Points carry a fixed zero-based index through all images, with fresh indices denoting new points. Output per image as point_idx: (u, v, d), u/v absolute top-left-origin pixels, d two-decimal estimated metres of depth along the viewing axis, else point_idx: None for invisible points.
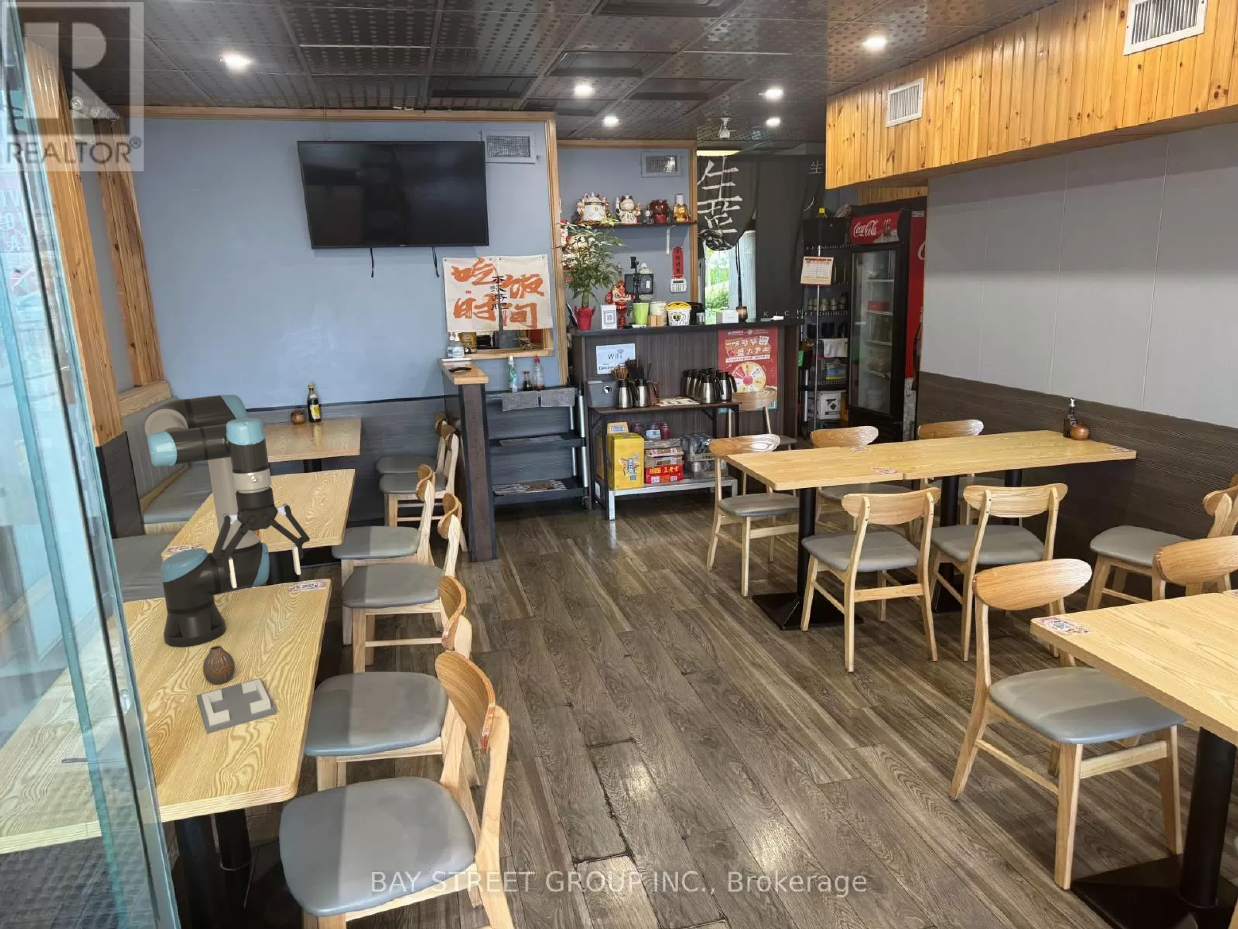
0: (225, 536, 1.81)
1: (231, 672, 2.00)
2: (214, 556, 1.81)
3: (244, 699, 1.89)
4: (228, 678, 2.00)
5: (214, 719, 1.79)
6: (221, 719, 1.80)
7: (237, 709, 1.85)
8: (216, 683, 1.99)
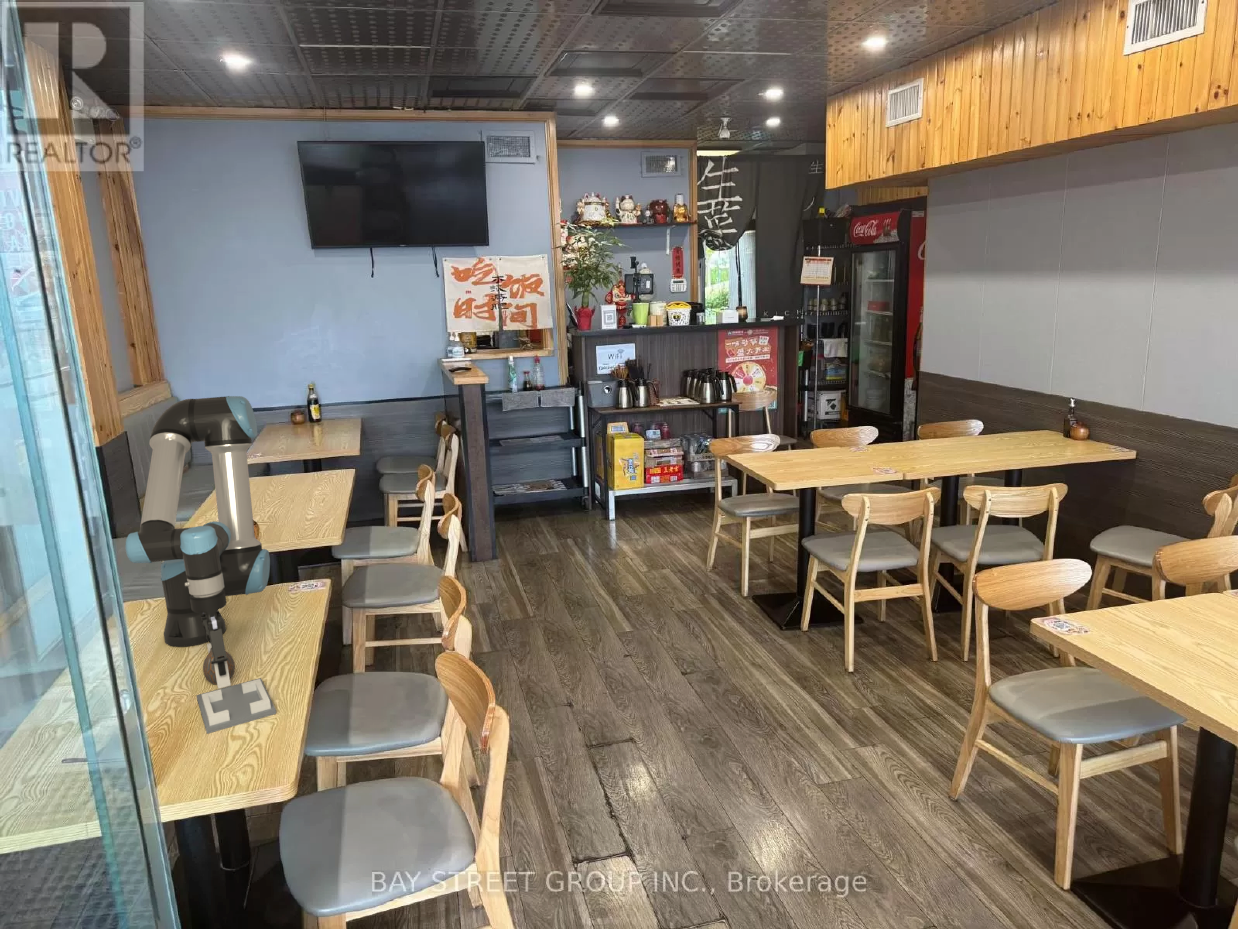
0: None
1: (231, 672, 2.00)
2: (205, 634, 2.06)
3: (244, 699, 1.89)
4: None
5: (214, 719, 1.79)
6: (221, 719, 1.80)
7: (237, 709, 1.85)
8: (216, 683, 1.99)
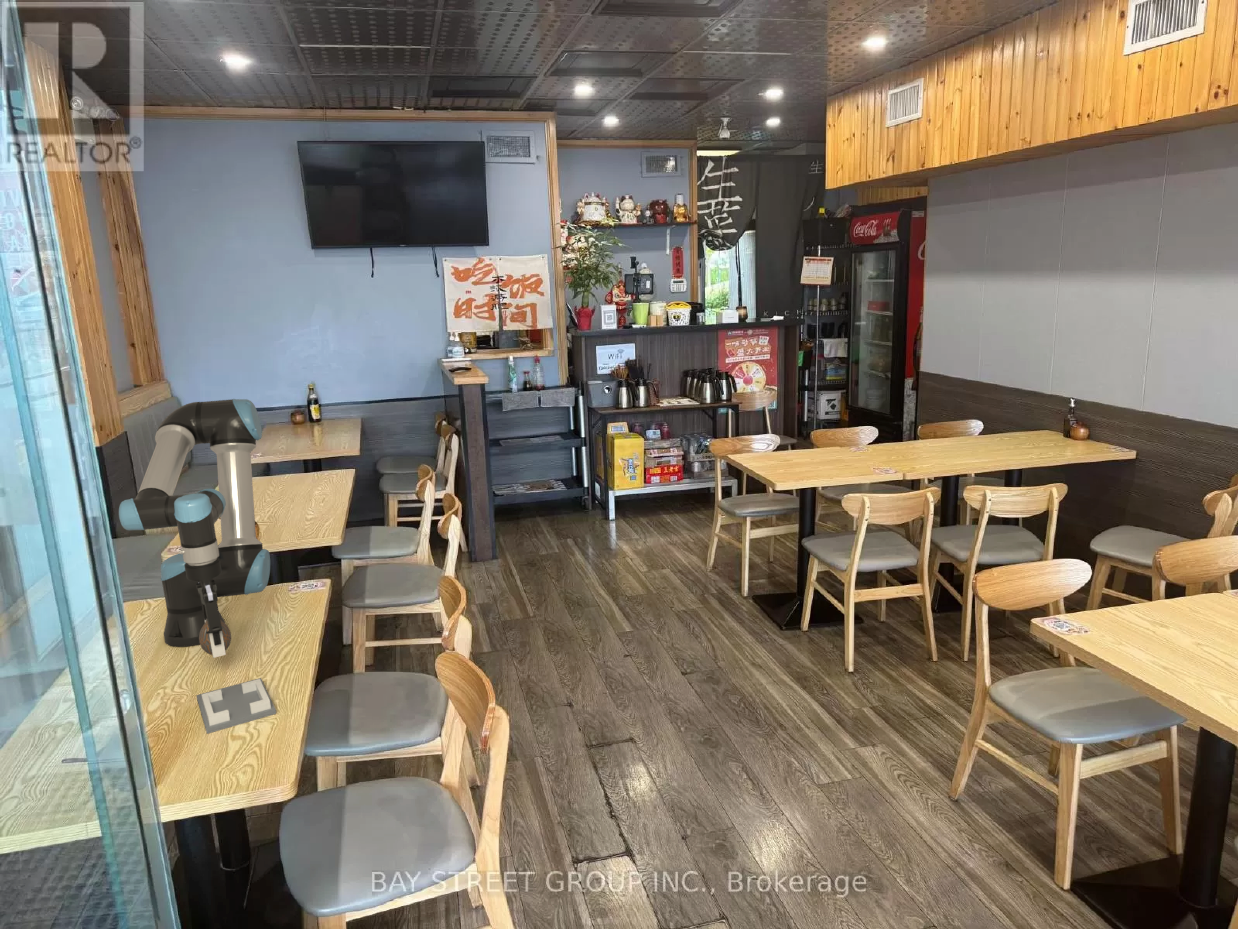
0: None
1: (228, 642, 1.99)
2: None
3: (244, 699, 1.89)
4: None
5: (214, 719, 1.79)
6: (221, 719, 1.80)
7: (237, 709, 1.85)
8: None
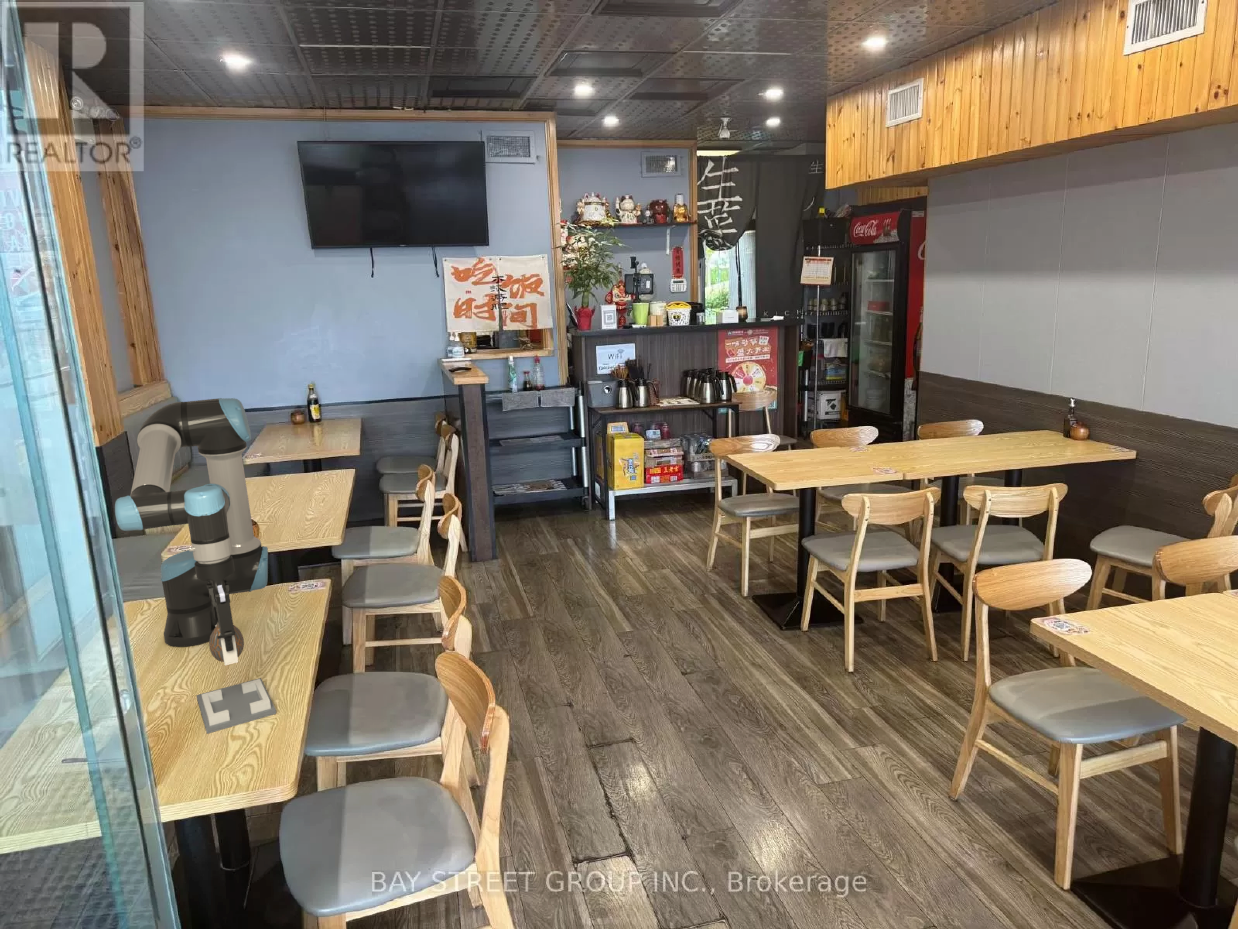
0: None
1: (240, 648, 1.83)
2: None
3: (244, 699, 1.89)
4: (237, 655, 1.83)
5: (214, 719, 1.79)
6: (221, 719, 1.80)
7: (237, 709, 1.85)
8: None
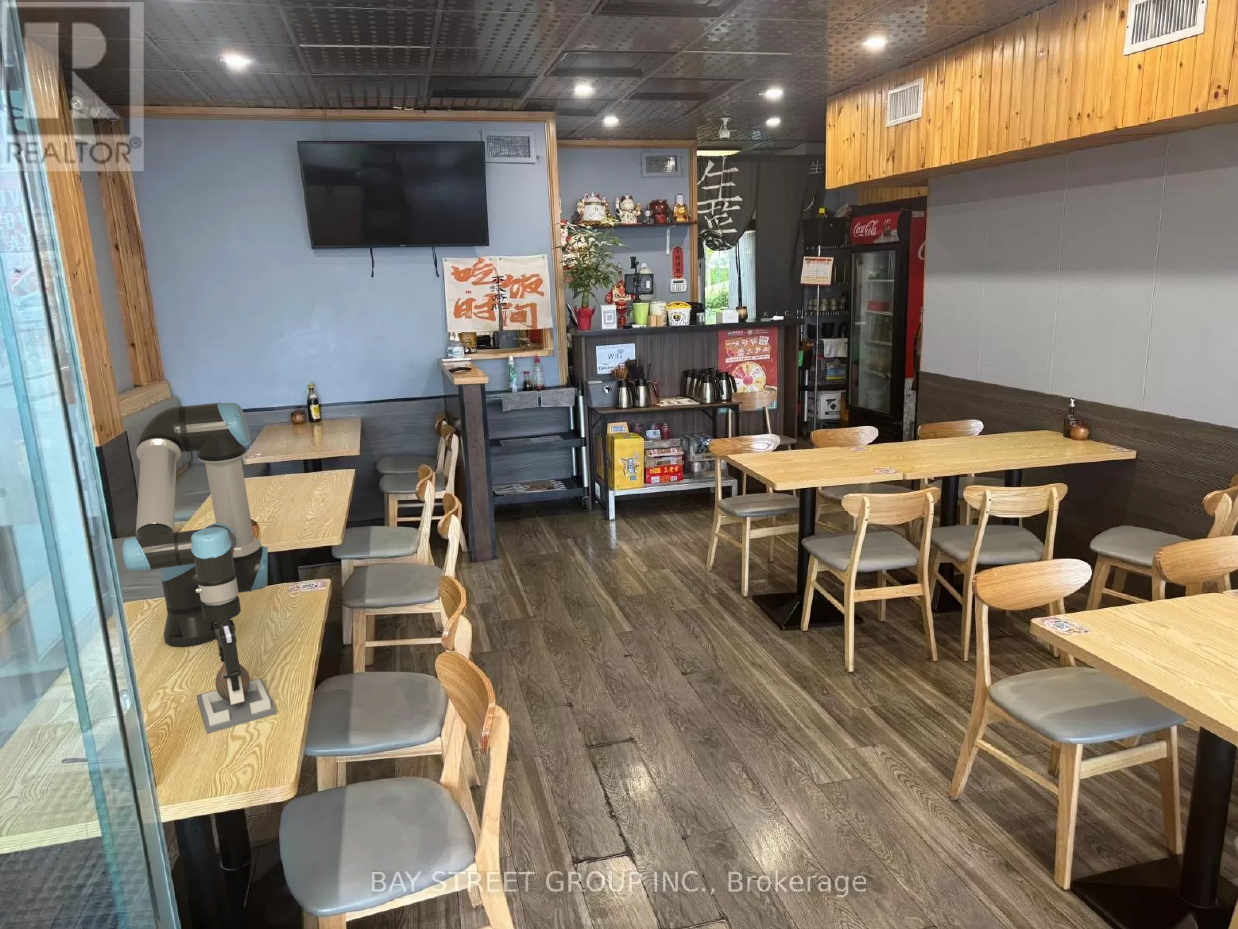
0: None
1: (246, 687, 1.85)
2: None
3: (244, 699, 1.89)
4: (243, 694, 1.85)
5: (214, 719, 1.79)
6: (221, 719, 1.80)
7: (237, 709, 1.85)
8: None
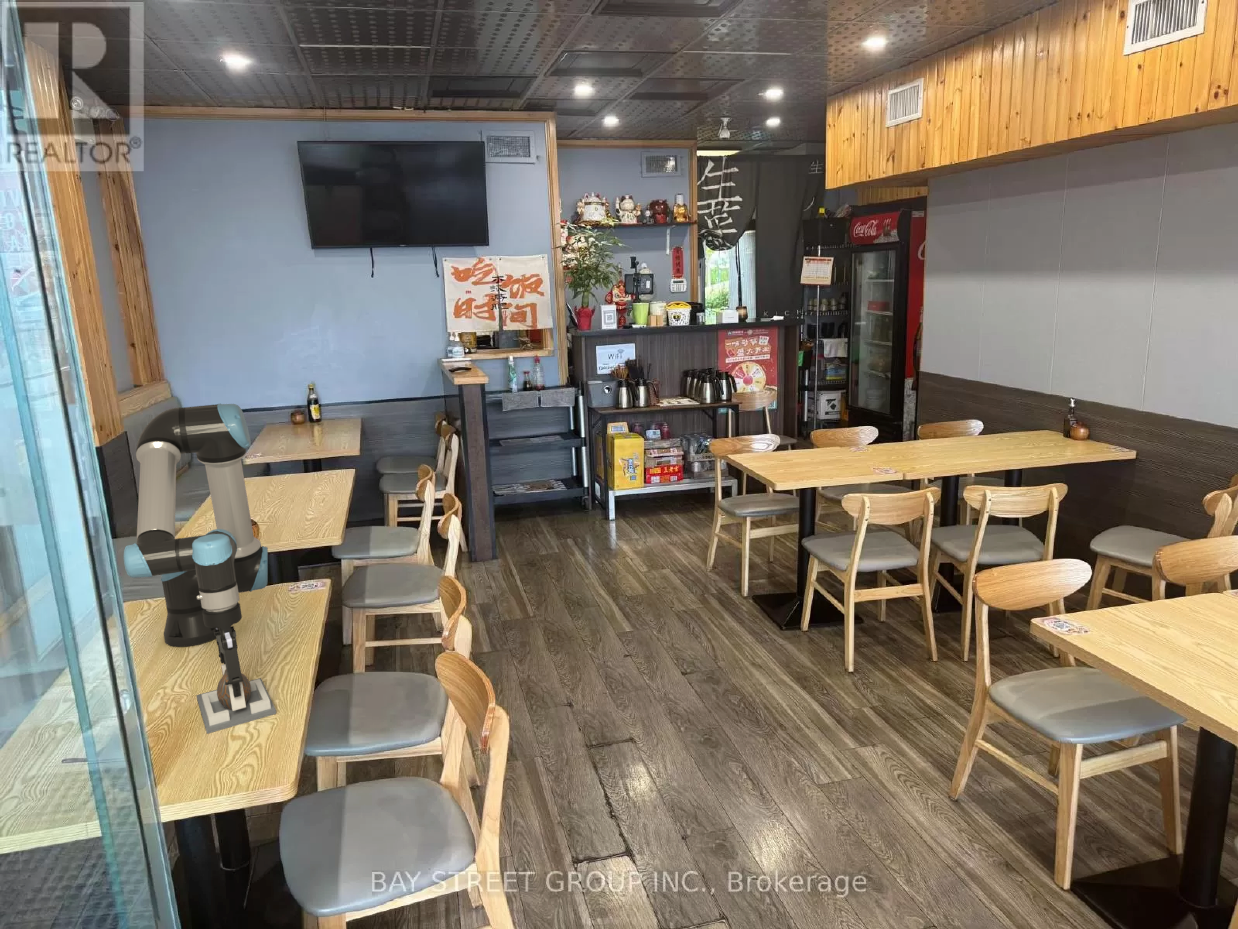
0: None
1: (247, 695, 1.86)
2: (219, 655, 1.91)
3: None
4: None
5: (214, 719, 1.79)
6: (221, 719, 1.80)
7: None
8: (231, 708, 1.84)
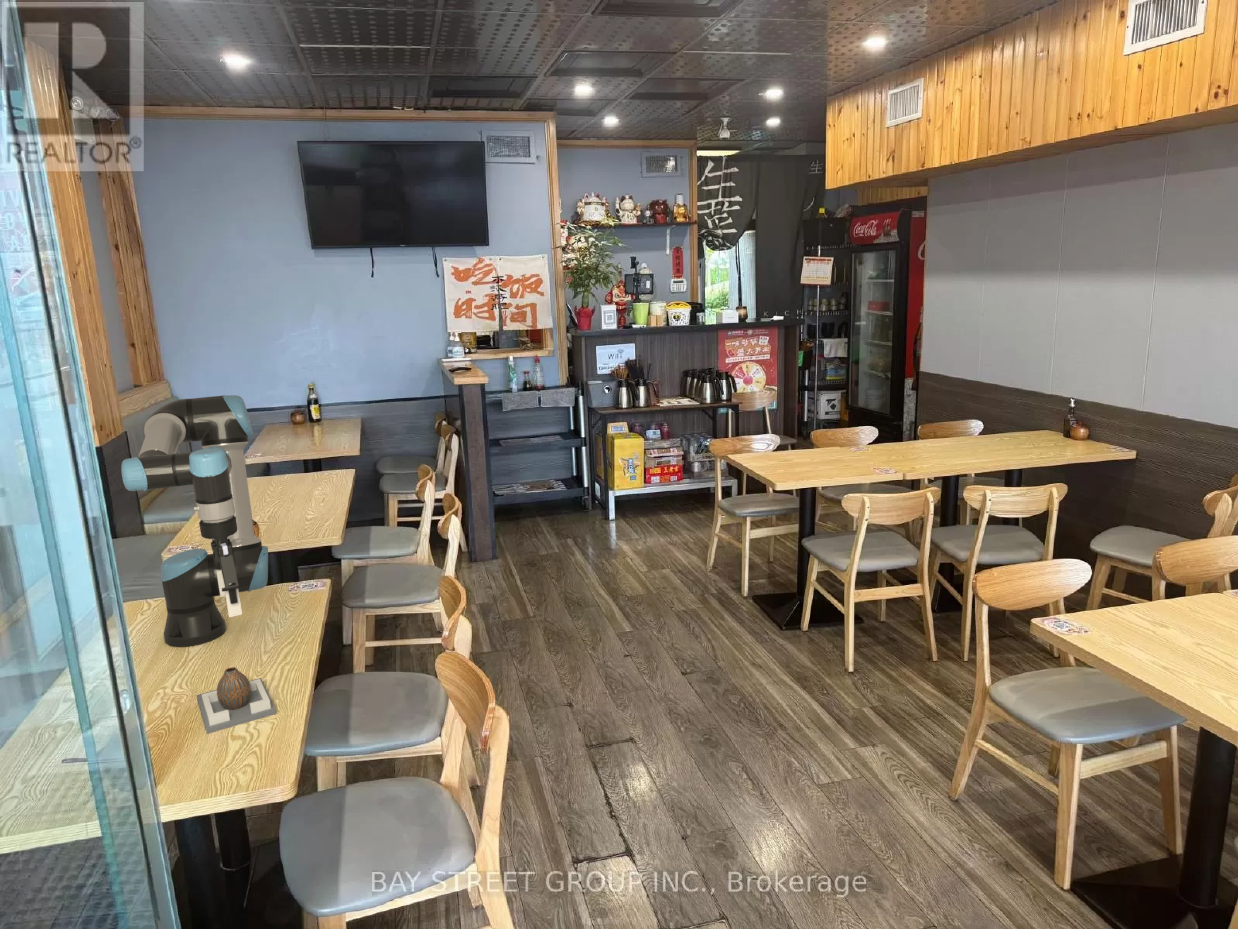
0: None
1: (247, 695, 1.86)
2: (214, 561, 1.98)
3: None
4: (244, 702, 1.85)
5: (214, 719, 1.79)
6: (221, 719, 1.80)
7: (237, 709, 1.85)
8: (231, 708, 1.84)
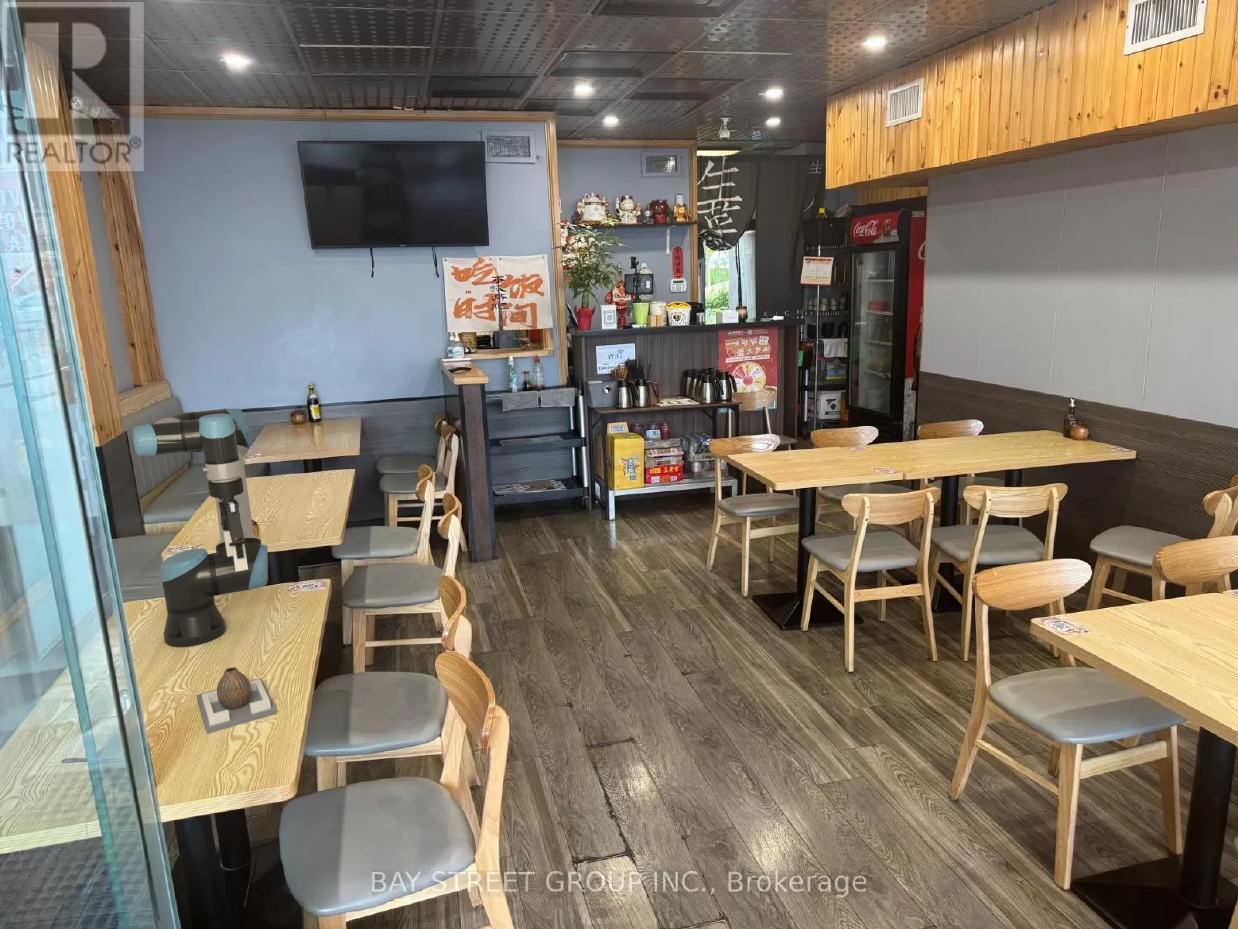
0: None
1: (247, 695, 1.86)
2: (221, 523, 2.10)
3: None
4: (244, 702, 1.85)
5: (214, 719, 1.79)
6: (221, 719, 1.80)
7: (237, 709, 1.85)
8: (231, 708, 1.84)
